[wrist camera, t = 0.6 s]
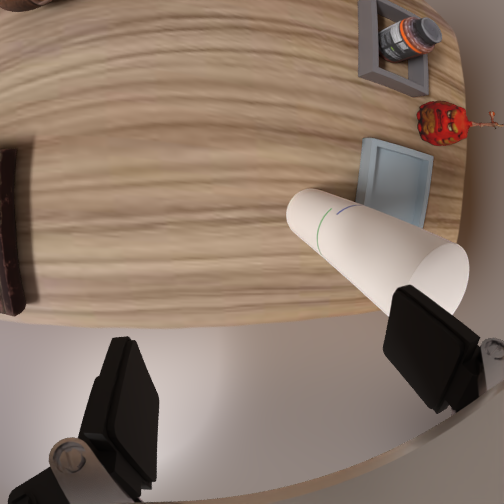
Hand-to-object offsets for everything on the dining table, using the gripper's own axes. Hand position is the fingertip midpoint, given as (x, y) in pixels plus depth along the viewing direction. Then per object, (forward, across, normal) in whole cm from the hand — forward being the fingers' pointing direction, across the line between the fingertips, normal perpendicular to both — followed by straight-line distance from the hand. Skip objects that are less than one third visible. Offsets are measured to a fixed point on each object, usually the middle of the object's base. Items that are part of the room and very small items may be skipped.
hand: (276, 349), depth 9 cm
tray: (+30, -27, +2) cm, 40 cm away
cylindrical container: (+30, -13, +3) cm, 32 cm away
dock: (+30, -29, -23) cm, 47 cm away
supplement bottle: (+30, -29, -23) cm, 48 cm away
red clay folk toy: (+30, -36, -11) cm, 48 cm away
